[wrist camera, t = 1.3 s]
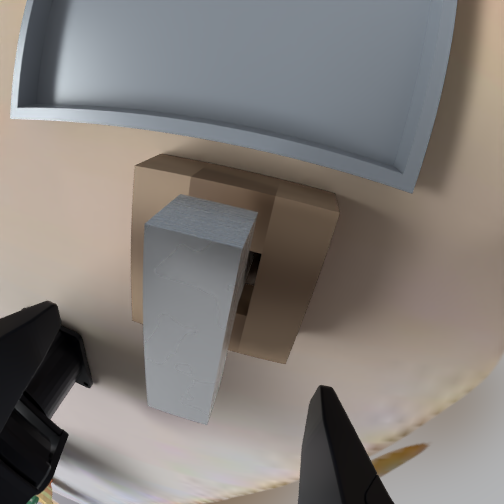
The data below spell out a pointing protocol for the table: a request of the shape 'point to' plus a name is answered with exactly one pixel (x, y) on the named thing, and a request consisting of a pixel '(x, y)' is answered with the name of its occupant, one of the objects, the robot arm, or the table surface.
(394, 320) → the table surface
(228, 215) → the gray rectangular block
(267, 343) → the socket block
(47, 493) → the potted cactus
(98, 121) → the tray
